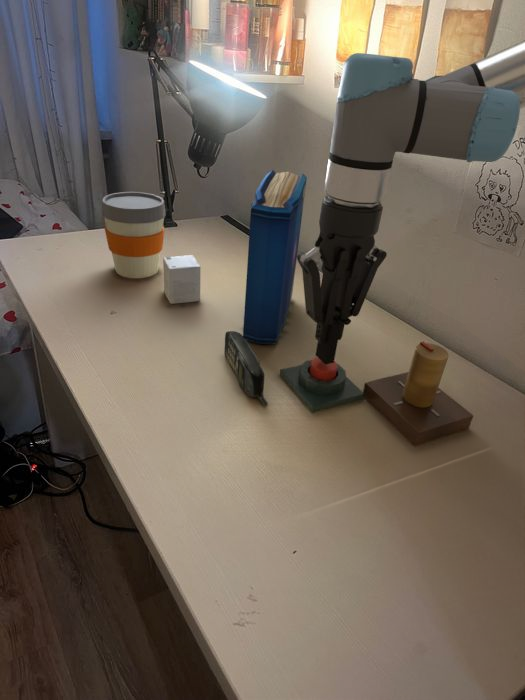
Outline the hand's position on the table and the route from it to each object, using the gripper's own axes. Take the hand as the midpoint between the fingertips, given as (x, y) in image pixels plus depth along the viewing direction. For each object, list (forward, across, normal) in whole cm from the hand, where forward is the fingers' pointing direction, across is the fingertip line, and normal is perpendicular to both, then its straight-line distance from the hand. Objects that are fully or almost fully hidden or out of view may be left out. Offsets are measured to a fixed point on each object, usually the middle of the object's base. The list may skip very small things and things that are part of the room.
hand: (324, 358), depth 75 cm
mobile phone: (+6, +10, -6) cm, 13 cm away
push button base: (+5, 0, 0) cm, 5 cm away
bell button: (+3, 0, 0) cm, 3 cm away
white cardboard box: (+6, +10, -36) cm, 38 cm away
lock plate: (+5, -10, +10) cm, 15 cm away
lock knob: (+3, -10, +10) cm, 15 cm away
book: (+6, -2, -22) cm, 23 cm away
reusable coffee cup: (+6, +15, -51) cm, 53 cm away
